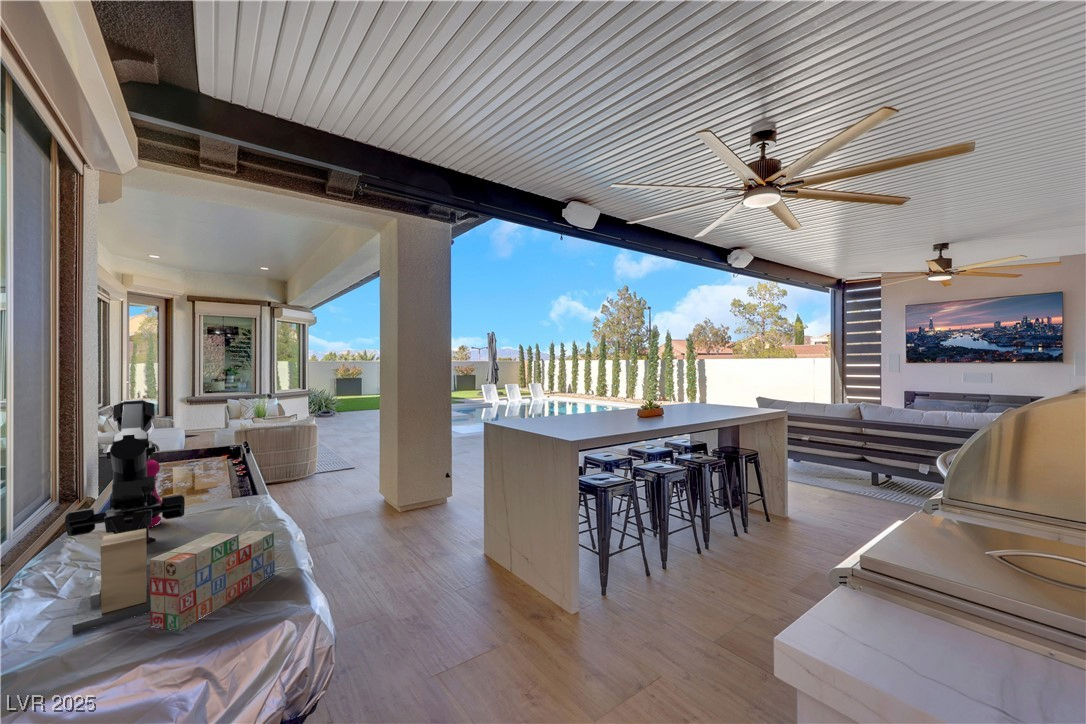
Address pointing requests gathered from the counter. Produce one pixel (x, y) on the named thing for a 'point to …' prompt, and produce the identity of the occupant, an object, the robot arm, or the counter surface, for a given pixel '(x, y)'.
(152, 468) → the pepper mill
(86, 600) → the chute
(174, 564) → the stack of blocks
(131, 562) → the oak block
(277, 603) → the counter surface
